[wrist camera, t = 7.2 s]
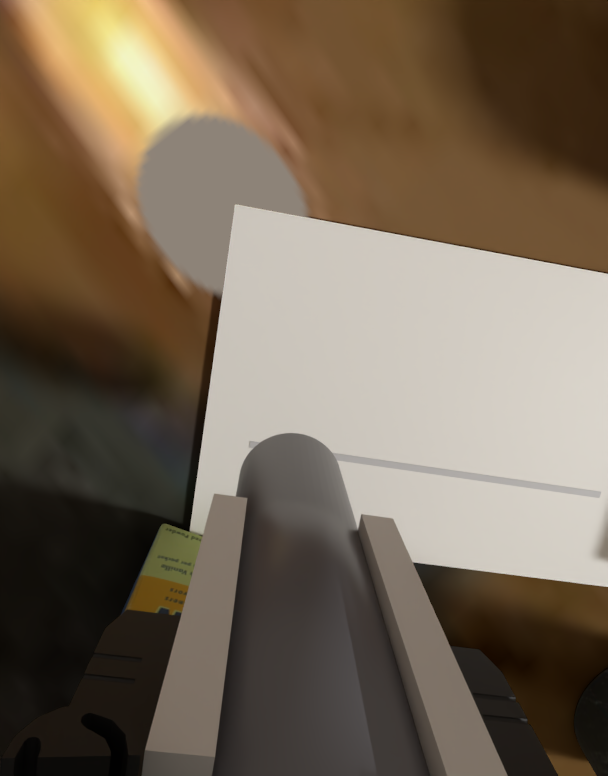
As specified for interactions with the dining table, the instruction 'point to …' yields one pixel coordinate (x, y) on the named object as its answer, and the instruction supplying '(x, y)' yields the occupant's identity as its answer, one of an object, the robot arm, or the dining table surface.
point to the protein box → (165, 572)
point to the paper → (421, 389)
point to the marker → (308, 632)
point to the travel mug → (594, 723)
